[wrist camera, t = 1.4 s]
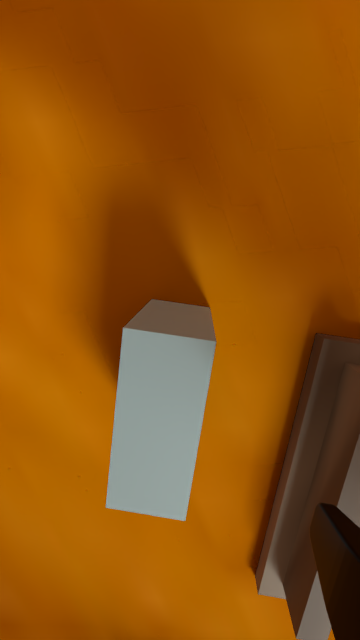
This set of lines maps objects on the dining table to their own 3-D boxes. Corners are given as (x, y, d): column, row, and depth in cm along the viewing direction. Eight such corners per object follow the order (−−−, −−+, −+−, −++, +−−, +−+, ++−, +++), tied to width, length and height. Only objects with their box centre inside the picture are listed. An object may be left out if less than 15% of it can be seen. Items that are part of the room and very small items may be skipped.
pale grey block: (209, 307, 15) (216, 341, 9) (190, 428, 17) (185, 521, 11) (151, 298, 15) (123, 327, 10) (137, 419, 17) (105, 507, 11)
